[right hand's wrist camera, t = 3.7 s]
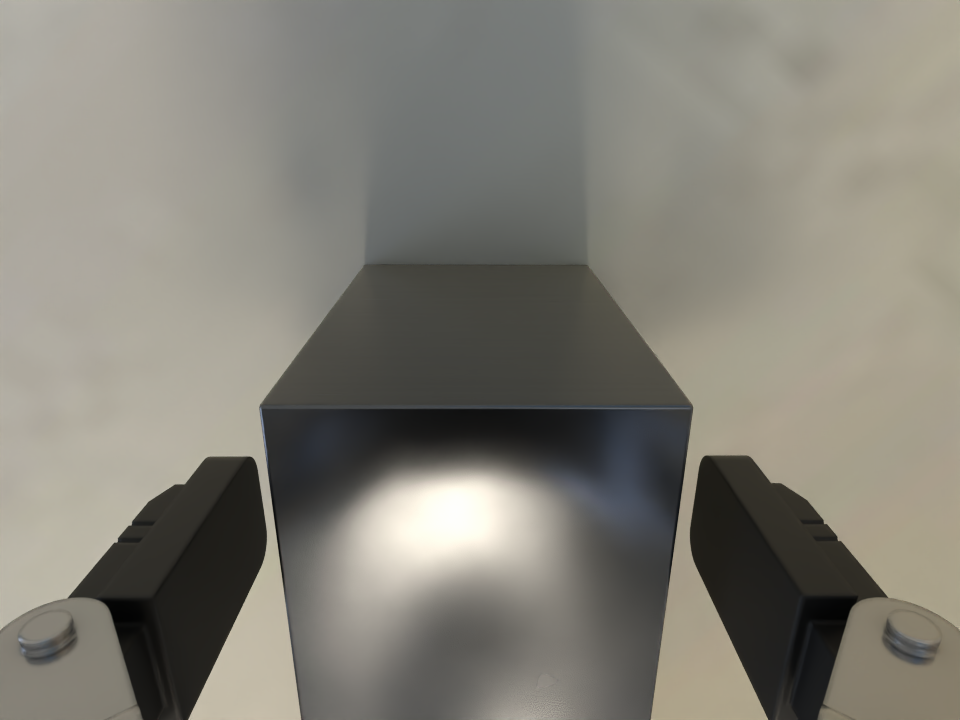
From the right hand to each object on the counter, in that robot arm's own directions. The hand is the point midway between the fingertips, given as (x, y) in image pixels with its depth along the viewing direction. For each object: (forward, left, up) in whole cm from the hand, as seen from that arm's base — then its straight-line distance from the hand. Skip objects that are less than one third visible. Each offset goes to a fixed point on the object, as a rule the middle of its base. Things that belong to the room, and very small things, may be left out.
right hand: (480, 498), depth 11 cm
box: (-8, +2, -7) cm, 11 cm away
